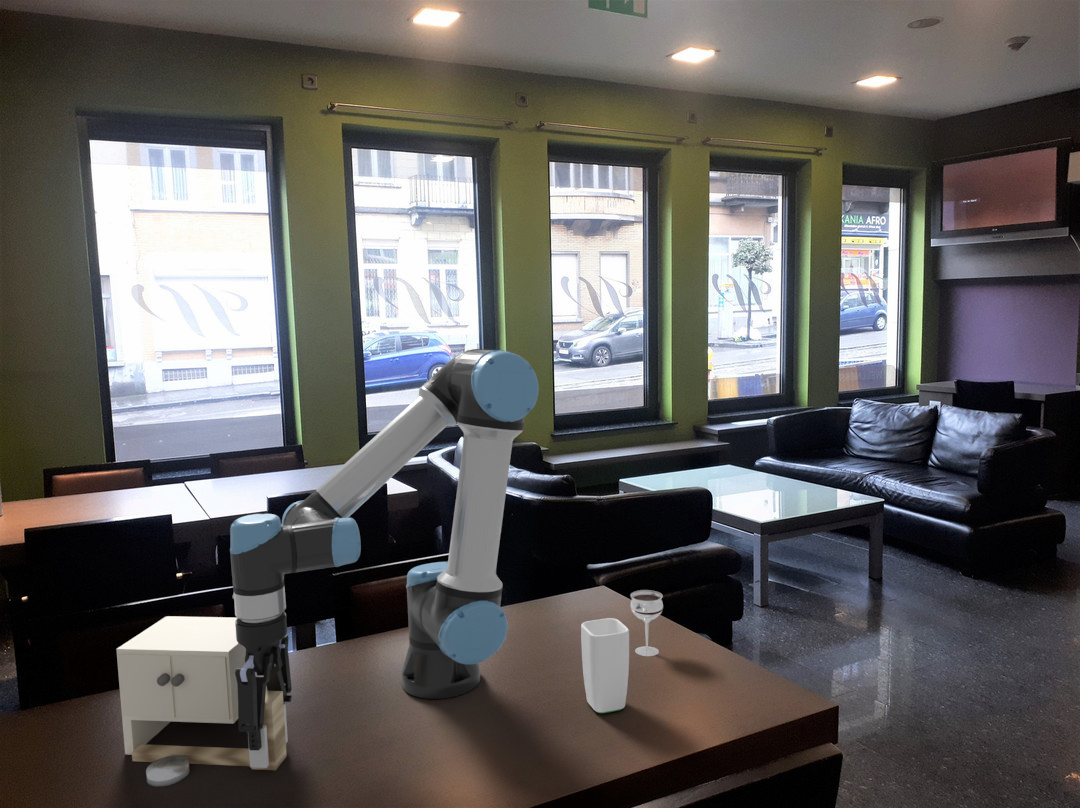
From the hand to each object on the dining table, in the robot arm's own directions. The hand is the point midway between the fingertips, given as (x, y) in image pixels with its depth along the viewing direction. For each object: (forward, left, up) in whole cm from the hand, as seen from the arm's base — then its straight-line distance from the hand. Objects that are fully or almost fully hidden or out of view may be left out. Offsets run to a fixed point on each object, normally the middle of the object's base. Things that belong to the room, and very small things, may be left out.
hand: (269, 753), depth 125 cm
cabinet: (+16, -8, -1) cm, 17 cm away
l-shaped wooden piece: (+10, 0, -1) cm, 10 cm away
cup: (-53, -22, -2) cm, 57 cm away
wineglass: (-61, -46, -2) cm, 76 cm away
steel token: (+15, +4, -2) cm, 15 cm away
